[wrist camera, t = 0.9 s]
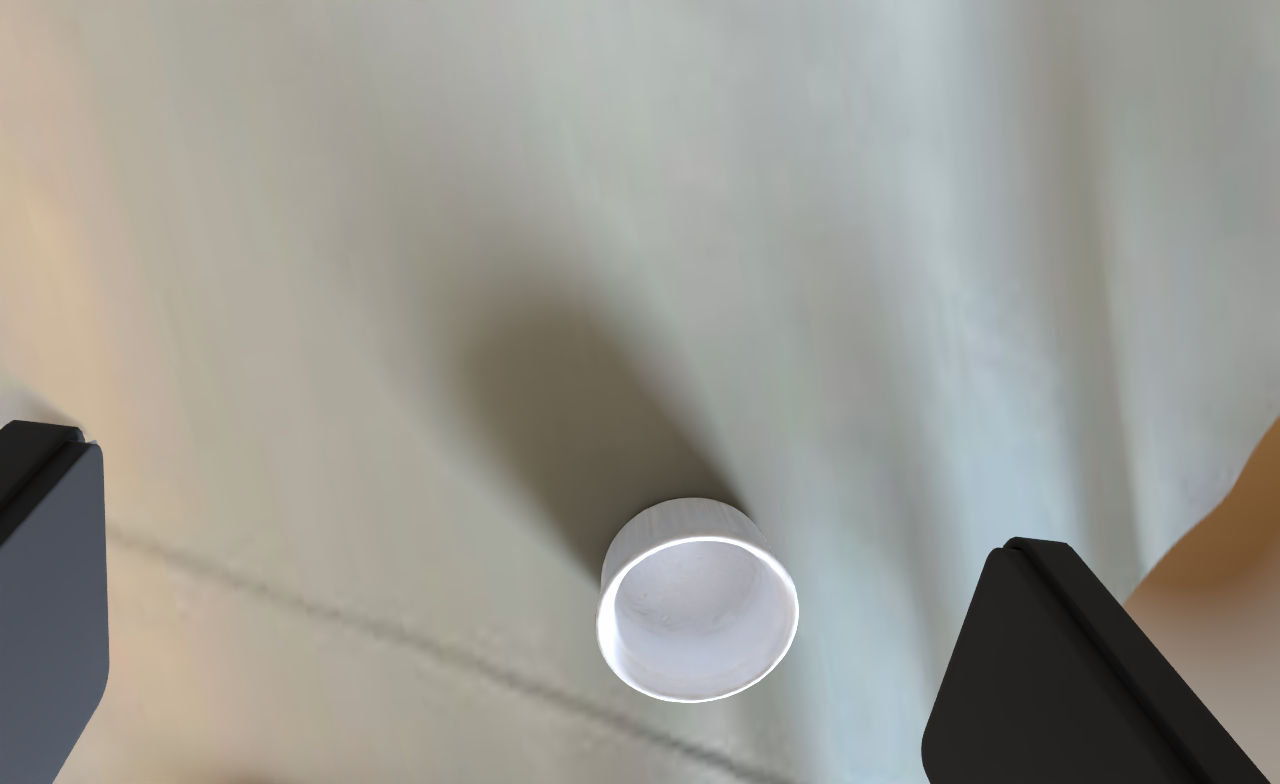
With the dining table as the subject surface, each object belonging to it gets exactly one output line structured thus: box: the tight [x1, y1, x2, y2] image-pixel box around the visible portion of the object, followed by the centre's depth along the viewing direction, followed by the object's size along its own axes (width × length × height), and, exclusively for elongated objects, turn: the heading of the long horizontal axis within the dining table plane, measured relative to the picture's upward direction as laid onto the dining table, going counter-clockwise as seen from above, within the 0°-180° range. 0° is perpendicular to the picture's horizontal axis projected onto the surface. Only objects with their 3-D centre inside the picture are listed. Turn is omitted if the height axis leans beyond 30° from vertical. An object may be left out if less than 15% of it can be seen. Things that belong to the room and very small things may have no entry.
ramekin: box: [595, 498, 799, 703], centre depth 47 cm, size 9×9×4 cm
